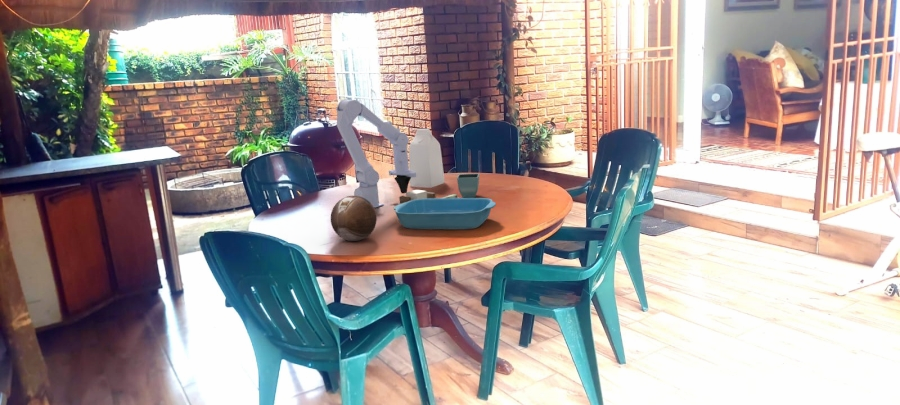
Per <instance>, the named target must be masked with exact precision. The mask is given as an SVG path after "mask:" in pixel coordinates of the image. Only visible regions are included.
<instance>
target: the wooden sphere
mask: <svg viewBox="0 0 900 405" xmlns="http://www.w3.org/2000/svg"><path fill="white" fill-rule="evenodd" d="M377 218H378V217H377V212H376V209H375V208H374V207H373V205H372V204H371V203H370V202H369V201H368V200H367V199H365V198H363V197H360V196H354V195H348V196H345V197H343V198H341V199H340V200H338V201H337V202H336V203H335V205H334V206H333V207H332V210H331V214H330V224H331V225H330V226H331V227H332V229H333V231H334V233H335V234H336V235H337V236H338V237H339V238H342V240H346V241H348V242H358V241H362V240H365V239H366V238H368V237H369V236H371V234H372V233H373V231H374V230H375V228H376V225H377Z"/></svg>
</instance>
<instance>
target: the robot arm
mask: <svg viewBox="0 0 900 405" xmlns="http://www.w3.org/2000/svg"><path fill="white" fill-rule="evenodd" d="M335 110H336V113H337V114H336V127H337V129H338V131H339V134H340V136H341V139H342V140H343V142H344V144H345V146H346V149H347V151H348V153H349V155H350V157H351V159H352V162H353V163H354V165H355V166H354V170H355V176H356V177H355V178H356V180H357V181H358V182H359V183H358V184H359V185H358V186H359V187H356V188H355V189H354V192H353V196H360V197H363V198H365V199H367V200H368V201H369V202H370V203H371V204H372V205H373V207H374V209H375V208H378V207H381V206H384V205H385V204H384V203H380V200H379V199H380V198H379V187H378V183H379V181H380V174H379V173H378V171H377V170H375V169H374V167H373V165H372V164H371V163H370V162H369V161H368V158H367V157H366V154H365V152H364V150H363V148H362V146H361V143H360V141H359V140H358V137H357V135H356V132H355V131H354V128H353V124H354V121H355V120H356V119H357V117H362V118H363V119H365V120H366V121H368V122H369V123H371V124H372V125H374V126H375V127H376V129H377V132H378V133H379V134H381V136H383V137H384V138H385V139H387V141H389V143H390V144H391V145H392V150H393V162H394V169H391V170H388V176H396V177H394V181H395V183H396V184H397V186H398V187H399V190H400V194H403V195H404V194H406V192H408V186H409V185H410V179H411V177H412V178H413V177H416V172H412V171H410V170H409V153H408V144H409V142H410V138H409V137H408V135H407V134H406V133H405V132H401V129H400V128H397V127H396V126H394V124H393V122H392V121H390V120H382V119H381V118H380V117H378V116H377V115H376V114H375V113H373V111H371V109H369V108H368V107H367V106H366V105H365V104H363V103H361V102H360V101H359V100H357V99H347V98H345V99H342V100H340V101H339V103H338V105H337V106H336V109H335Z"/></svg>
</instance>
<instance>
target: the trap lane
mask: <svg viewBox="0 0 900 405" xmlns="http://www.w3.org/2000/svg"><path fill="white" fill-rule="evenodd" d="M436 195H437V194H436V192H431V191H427V198H437V197H436ZM398 198H399V204H402V203H405V202H408V201H411V197H406V195H401V196H399V197H398ZM441 198H461V196H460V197H459V196H458V194H455V193H453V194H447V195H446V196H443V197H441Z"/></svg>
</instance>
